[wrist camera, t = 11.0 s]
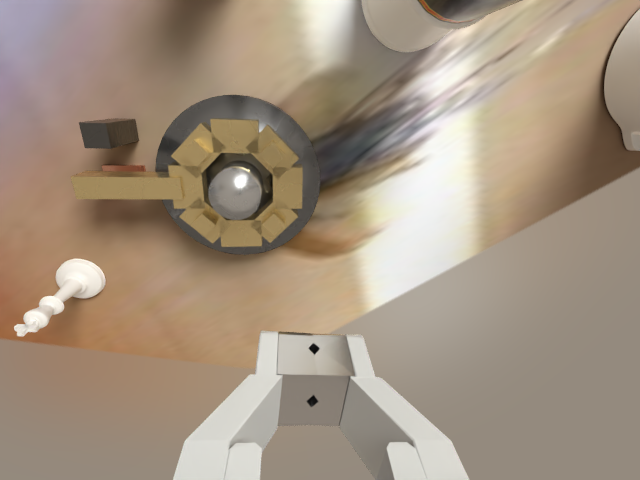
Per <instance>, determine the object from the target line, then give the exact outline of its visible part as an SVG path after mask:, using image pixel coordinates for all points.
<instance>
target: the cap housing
mask: <svg viewBox="0 0 640 480" xmlns="http://www.w3.org/2000/svg"><path fill="white" fill-rule="evenodd" d="M213 118H230V119H259V133H260V131H261V130H262V129H263V128H264V127H265V126H266V125H267V124H269V125H270V126H271V127H272V128H273V129H274V131H275V132H276V133H277V134H278V135H279V136H280V137H281V138H282V139H283V140H284V141H285V142H286V143H287V144H288V145H289V146H290V147H291V148H292V149H293V151H294V152H295V153H296V154H297V155H298V157H299V159H298V160H297V161H296V162H295V163H294V164H302V167H303V181H302V209H296V210H297V211H298V217H297V218H296V219H295V220H294V221H293V222H292V223H291V224H290V225H289V226H288V227H287V228H286V229H285V230H284V231H283V232H281V233H280V234H279V235H278V236H277V237H276V238H275V239H274V240H273V241H272V242H271V243H270V242H268V241H267V240H266V239H265V238H264V237H263V242H262V246H246V247H221V236H220V237H219V238H218V239H217V240H216V241H215V242H214V243H213V244H212V243H211V242H210V241H209V240H207V239H206V238H205V237H204V236H202V235H201V234H200V233H199V232H197V231H196V230H195V229H194V228H192V227H191V226H190V225H189V224H187V223H186V222H185V221H184V220H182V219H181V218H180V217H179V216H180V215H181V214H182V213H183V212H184V211H185V209H174V204H173V199H162V201H163V204H164V205H165V207H166V209H167V211H168V213H169V214H170V216H171V217H172V218H173V220H174V221H175V222H176V223H177V224H178V226H179V227H180V228H181V229H182V230H183V231H185V232H186V233H187V234H188V235H189V236H190V237H192V238H193V239H195V240H196V241H198V242H200V243H201V244H203V245H205V246H207V247H210V248H212V249H215V250H218V251H221V252H225V253H231V254H244V255H246V254H257V253H262V252H266V251H269V250H272V249H275V248H277V247H279V246H281V245H283V244H284V243H286V242H288V241H289V240H291V239H292V238H293V237H294V236H295V235H297V234H298V233H299V232H300V231H301V229H302V228H303V227H304V226H305V225H306V223H307V222H308V220H309V219H310V217H311V215H312V213H313V212H314V209H315V206H316V204H317V200H318V196H319V190H320V170H319V164H318V160H317V157H316V153H315V151H314V149H313V146H312V144H311V142H310V140H309V139H308V137H307V135H306V134H305V132H304V131H303V130H302V129H301V127H300V126H299V125H298V124H297V122H296V121H295V120H294V119H292V118H291V117H290V116H289V115H288V114H287V113H286V112H284V111H283V110H281V109H280V108H278V107H277V106H275V105H273V104H271V103H269V102H266V101H264V100H261V99H258V98H254V97H249V96H240V95H223V96H217V97H212V98H209V99H206V100H203V101H200V102H198V103H196V104H194V105H192V106H191V107H189V108H188V109H186V110H185V111H184V112H182V113H181V114H180V115H179V116H178V117H177V118H176V119H175V120H174V121H173V122H172V124H171V125H170V126H169V128H168V129H167V131H166V132H165V134H164V136H163V138H162V140H161V143H160V146H159V149H158V153H157V159H156V172H169V169H168V165H170V164H171V163H173V162H177V161H176V160H175V159H173V158H172V157H171V155H172V154H173V153H174V152H175V151H176V150H177V149H178V148H179V146H180V145H181V144H182V143H183V142H184V141H185V140H186V139H187V138H188V137H189V135H190V134H191V133H192V132H193V131H194V130H195V129H196V128H197V127H198V125H199V124H200V123H203V122H206V123H207V124H208V125H209V126H210V127H211V122H210V119H213ZM79 125H80V129H81V133H82V137H83V141H84V146H85V148H108V149H111V148H115V147H118V146H121V145H125V144H128V143H132V142H135V141H139V138H138V133H137V127H136V121H135V119H105V120H97V121H88V122H79ZM102 169H103V171H126V172H146V170H145V166H142V165H102ZM206 176H207V186H208V196H209V201H210V203H211V206H212V207H213V209H214V210H215V211H216V212H217V213H218V214H220V215H221V216H223V217H225V218H227V219H231V220H241V219H245V218H247V217H249V216H251V215H252V214H256V213H257V212H258V211H259V210H260V209H261V208H262V207H263V206H264V205H265V204H266V203H267V202H268V201H269V200H270V199H271V198H272V197H273V174H272V173H271V172H270V171H269V170H268V169H266V168H265V167H264V166H263V165H262V164H261V163H260V162H259V161H258V160H257V159H256V158H255V157H254V156H253V155H252V154H251V153H221V154H220V155H219V156H218V157H217V158H216V159H215V160H214V161H213V162H212V163H211V164H210V165H209V166H208V168H207V169H206Z"/></svg>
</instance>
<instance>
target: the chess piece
mask: <svg viewBox="0 0 640 480" xmlns="http://www.w3.org/2000/svg"><path fill="white" fill-rule="evenodd" d="M56 281H57V284H58V286H59V287H60V289H59V291H58V292H57V293H56V294H55V295H54V296H46V297H43V298H42V299H41V301H40V303H39V306H40V307H38V308H36V309H33V310H30V311H28V312H27V313H25V315H24V317H23V319H24V322H25V323H26V324H17V325H16V326H15V327H14V330H15V331H17V335H18V336H24V335H25V334H26V333H27V332H37V331H38V330H39V329H41V328H44V327H45V326H47V324H48V323H49V321H50V317H51V316H52V315H56V314H58V313H61V312H62V311H63V309H64V304H63V302H64V301H66V300H67V299H69V298H70V297H72V296H73V297H76V298H90V297H93V296H95V295H96V294H98V293H99V292H101V291H102V289H103V288H104V286H105V276H104V274H103V272H102V270H101V269H100V268H99V267H98V266H97V265H95V264H94V263H92V262H90V261H87V260H84V259H71V260H68V261H66V262H64V263H63V264H62V265H61V266H60V267H59V268H58V270H57V272H56Z"/></svg>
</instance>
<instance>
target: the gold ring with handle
mask: <svg viewBox="0 0 640 480" xmlns="http://www.w3.org/2000/svg"><path fill="white" fill-rule="evenodd" d="M210 122H211V127H210V126H209V125H208V124H207V123H206V122H203V123H200V124H199V125H198V127H197V128H196V129H195V130H194V131H193V132H192V133H191V134H190V135H189V137H188V138H187V139H186V140H185V141H184V142H183V143H182V144H181V145H180V146H179V148H178V149H177V150H176V151H175V152H174V153H173V154H172V155H171V157H172V158H173V159H175V160H176V161H177V162H173V163H171V164H170V165H168V169H169V172H126V171H84V172H82V173H79V174H76V175H73V176H71V180H72V184H73V187H74V191H75V195H76V199H173V204H174V209H185V211H184V212H183V213H182V214H181V215H180V216H179V217H180V218H181V219H182V220H184V221H185V222H186V223H187V224H189V225H190V226H191V227H192V228H194V229H195V230H196V231H197V232H199V233H200V234H201V235H202V236H204V237H205V238H206V239H207V240H209V241H210V242H211V243H212V244H213V243H214V242H215V241H216V240H217V239H218V238H219V237H220V236H221V247H246V246H262V242H263V237H264V238H265V239H266V240H267V241H268V242H270V243H271V242H272V241H273V240H274V239H275V238H276V237H277V236H278V235H279V234H280V233H281V232H283V231H284V230H285V229H286V228H287V227H288V226H289V225H290V224H291V223H292V222H293V221H294V220H295V219H296V218H297V217H298V211H297V210H296V209H302V181H303V167H302V164H294V163H295V162H296V161H297V160H298V159H299V157H298V155H297V154H296V153H295V152H294V151H293V149H292V148H291V147H290V146H289V145H288V144H287V143H286V142H285V141H284V140H283V139H282V138H281V137H280V136H279V135H278V134H277V133H276V132H275V131H274V129H273V128H272V127H271V126H270V125H269V124H267V125H266V126H265V127H264V128H263V129H262V130H261V131H260V133H259V119H230V118H213V119H210ZM221 153H251V154H252V155H253V156H254V157H255V158H256V159H257V160H258V161H259V162H260V163H261V164H262V165H263V166H264V167H265V168H266V169H268V170H269V171H270V172H271V173H272V174H273V197H272V198H271V199H270V200H269V201H268V202H267V203H266V204H265V205H264V206H263V207H262V208H261V209H260V210H259V211H258V212H257V213H256V214H252V215H251V216H249V217H247V218H245V219H241V220H231V219H227V218H225V217H223V216H221V215H220V214H218V213H217V212H216V211H215V210H214V209H213V207H212V206H211V203H210V201H209V196H208V186H207V176H206V169H207V168H208V166H209V165H210V164H211V163H212V162H213V161H214V160H215V159H216V158H217V157H218V156H219V155H220V154H221Z"/></svg>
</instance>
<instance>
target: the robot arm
mask: <svg viewBox="0 0 640 480" xmlns="http://www.w3.org/2000/svg"><path fill="white" fill-rule="evenodd" d="M604 95H605V101H606V105H607V108H608V111H609V113H610V114H611V116H612V118H613V119H614V120H615V121H616V122H617V124H618V125H619V126H620V128H621V130H622V135H623V141H624V145H625V147H626V149H627V150H630V151H640V9H639V10H638V11H637V12H636V13H635V14H634V16H633V17H632V18H631V19H630V21H629V22H628V23H627V25H626V26H625V28H624V29H623V31H622V32H621V34H620V36H619V38H618V39H617V41H616V43H615V45H614V48H613V50H612V52H611V55H610V58H609V61H608V64H607V68H606V73H605V81H604ZM292 425H322V426H323V425H324V426H340V429H341V431H342V432H343V433H344V435H345V437H346V438H347V439H348V441H349V442H350V444H351V445H352V447H353V448H354V450H355V451H356V452H357V454H358V455H359V457H360V458H361V459H362V461H363V462H364V464H365V465H366V467H367V468H368V470H369V471H370V472H371V474H372V475H373V477H374V478H375V480H469V478H468V476H467V474H466V472H465V470H464V467H463V465H462V463H461V461H460V459H459V457H458V455H457V453H456V450H455V448H454V446H453V444H452V442H451V440H450V439H449V438H447V437H446V436H445V435H444V434H443V433H442V432H441V431H440V430H439V429H437V428H436V427H435V426H434V425H433V424H432V423H431V422H430V421H429V420H427V419H426V418H425V417H424V416H423V415H422V414H421V413H420V412H419V411H417V410H416V409H415V408H414V407H413V406H412V405H411V404H410V403H409V402H407V401H406V400H405V399H404V398H403V397H402V396H401V395H400V394H399V393H397V392H396V391H395V390H394V389H393V388H392V387H391V386H390V385H389V384H387V383H386V382H385V381H384V380H383V379H382V378H380V377H375V374H374V371H373V368H372V364H371V361H370V357H369V355H368V351H367V348H366V345H365V341H364V338H363V336H362V335H350V334H348V335H347V334H345V335H336V334H310V333H294V332H279V333H278V332H274V331H261V332H260V337H259V345H258V353H257V362H256V370H255V375H253V374H250V375H249V376H248V377H247V378H246V379H245V380H244V381H243V382H242V383H241V384H240V385H239V386H238V387H237V388H236V389H235V390H234V391H233V392H232V393H231V394H230V395H229V396H228V397H227V398H226V399H225V400H224V401H223V402H222V403H221V404H220V405H219V406H218V407H217V408H216V409H215V410H214V412H213V413H212V414H211V415H210V416H209V417H208V418H207V419H206V420H205V421H204V422H203V423H202V424H201V425H200V426H199V427H198V428H197V429H196V430H195V431H194V432H193V433H192V434H191V435H190V436H189V437H188V438H187V439H186V440H185V442H184V445H183V449H182V452H181V455H180V458H179V462H178V465H177V469H176V472H175V475H174V478H173V480H260V469H261V454H262V452H263V450H264V449H265V447H266V445H267V444H268V442H269V441H270V439H271V437H272V436H273V434H274V433H275V431H276V429H277V427H278V426H292Z"/></svg>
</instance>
